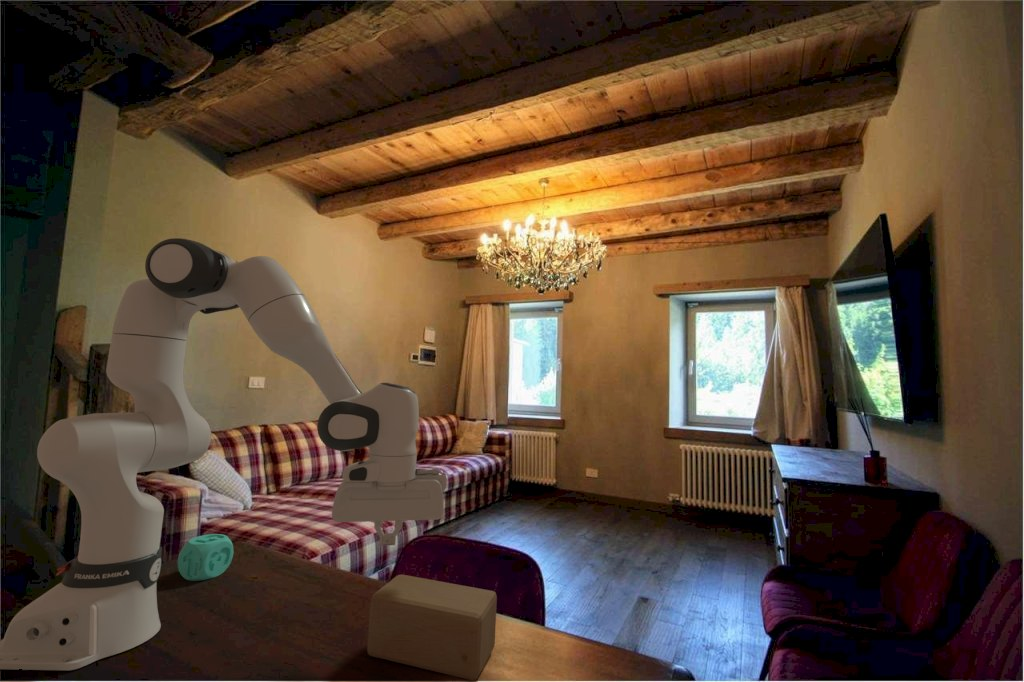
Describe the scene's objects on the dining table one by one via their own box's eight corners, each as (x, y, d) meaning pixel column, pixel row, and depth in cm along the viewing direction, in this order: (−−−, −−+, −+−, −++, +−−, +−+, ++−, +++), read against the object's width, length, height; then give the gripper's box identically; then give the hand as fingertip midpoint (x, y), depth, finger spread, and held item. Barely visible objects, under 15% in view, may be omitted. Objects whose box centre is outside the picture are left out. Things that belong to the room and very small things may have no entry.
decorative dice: (174, 578, 104) (179, 541, 104) (206, 565, 111) (210, 532, 112) (201, 583, 101) (205, 546, 102) (232, 570, 109) (235, 536, 110)
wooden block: (364, 657, 75) (476, 684, 70) (368, 595, 76) (480, 617, 71) (394, 626, 85) (495, 648, 80) (398, 571, 86) (498, 589, 80)
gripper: (445, 466, 91) (441, 537, 90) (338, 466, 87) (332, 541, 85) (448, 471, 85) (444, 548, 83) (333, 471, 80) (327, 552, 79)
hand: (387, 544), depth 84 cm, fingers closed
